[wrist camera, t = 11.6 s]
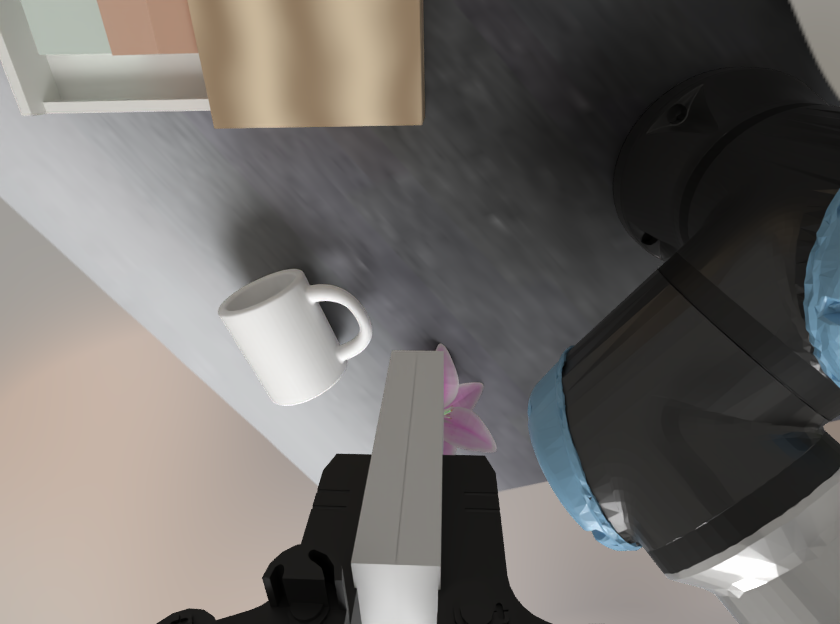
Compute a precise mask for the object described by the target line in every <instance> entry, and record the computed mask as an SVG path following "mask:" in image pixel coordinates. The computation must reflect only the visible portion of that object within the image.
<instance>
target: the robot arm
mask: <svg viewBox="0 0 840 624" xmlns="http://www.w3.org/2000/svg"><path fill="white" fill-rule="evenodd" d="M613 195H614V202H615V207H616V211H617V214H618V216H619V219H620V221H621V223H622V225H623V226H624V228H625V229H626V231H627V232H628V233H629V234H630V236H631V237H632V238H633V239H634V240H635V241H636V242H637V243H638V244H639V245H640V246H641V247H643V248H644V249H645V250H646V251H647V252H649V253H650V254H652V255H653V256H655V257H657V258H659V259H661V260H663V261H665V263H664V264H663V265H662V266H661V267H660V268H659V269H657V270H656V271H655V272H654V273H653V274H652V275H651V276H650V277H648V278H647V279H646V280H645V281H644V282H643V283H642V284H641V285H640V286H639V287H638V288H637V289H635V290H634V291H633V292H632V293H631V294H630V295H629V296H628V297H627V298H626V299H625V300H624V301H623V302H621V303H620V304H619V305H618V306H617V307H616V308H615V309H614V310H613V311H612V312H611V313H610V314H608V315H607V316H606V317H605V318H604V319H603V320H602V321H601V322H600V323H599V324H598V325H597V326H596V327H594V328H593V329H592V330H591V331H590V332H589V333H588V334H587V335H586V336H585V337H584V338H583V339H581V340H580V341H579V342H578V343H577V344H576V345H575V346H572V345H571V346H570V347H569V348H567V349H566V350H565V351H564V352H563V354H562V355H561V358H560V360H559V361H558V362H557V363H556V364H555V365H554V367H553V368H552V369H551V370H550V371H549V372H548V373H547V374H546V375H545V376H544V377H543V378H542V379H541V380H540V381H539V382H538V383H537V384H536V386H535V387H534V389H533V391H532V393H531V395H530V398H529V402H528V417H529V421H528V429H529V434H530V438H531V442H532V445H533V449H534V451H535V454H536V457H537V460H538V462H539V464H540V467H541V469H542V471H543V473H544V475H545V477H546V479H547V480H548V482H549V484H550V486H551V488H552V489H553V491H554V493H555V494H556V496H557V497H558V499H559V500H560V502H561V503H562V505H563V506H564V507H565V509H566V510H567V511H568V512H569V514H570V515H571V516H572V517H573V519H574V520H575V521H576V522H577V523H578V524H579V525H580V526H581V527H582V528H583V529H584V530H586V531H592V533H593V535H594V537H595V539H596V540H597V541H598V542H600V543H601V544H603V545H605V546H606V547H608V548H611V549H613V550H617V551H627V550H638V549H640V548H641V547H643V548H644V549H645V550H646V551H647V553H648V554H649V555H650V556H651V558H652V559H653V560H654V562H655V563H656V564H657V565H658V567H659V568H660V569H661V571H662V572H663V573H664V574H665V576H666V577H667V578H668V579H670V580H674V581H678V582H681V583H685V584H689V585H693V586H696V587H700V588H704V589H706V590H708V591H710V592H712V593H713V594H715V595H716V596H717V597H718V599H719V600H720V601H721V602H722V603H723V605H724V606H725V607H726V608H727V610H728V611H729V612H730V613H731V615H732V616H733V617H734V618H735V619H736V621H737V622H738V623H739V624H840V444H839V443H838V442H837V441H836V440H835V439H833V438H832V437H831V436H830V435H829V434H828V433H827V432H826V431H825V430H824V428H823V426H824V425H825V424H827V423H828V422H829V421H832V420H833V419H834V418H836V417H837V416H839V415H840V106H831V105H828V104H827V103H826V102H825V101H823V100H822V99H821V98H820V97H819V96H818V95H817V94H815V93H814V92H813V91H812V90H811V89H810V88H809V87H808V86H807V85H805V84H804V83H803V82H801V81H800V80H798V79H796V78H794V77H792V76H790V75H787V74H785V73H782V72H779V71H776V70H771V69H766V68H753V67H729V68H722V69H717V70H712V71H709V72H705V73H702V74H700V75H697V76H695V77H692V78H690V79H688V80H686V81H684V82H682V83H680V84H679V85H677V86H676V87H674V88H672V89H671V90H670V91H668V92H667V93H665V94H664V95H663V96H662V97H660V98H659V99H658V100H657V101H656V102H655V103H653V104H652V105H651V106H650V107H649V108H648V109H647V110H646V112H645V113H644V114H643V115H642V116H641V117H640V119H639V120H638V121H637V123H636V124H635V125H634V127H633V128H632V130H631V131H630V133H629V135H628V137H627V138H626V140H625V142H624V144H623V147H622V149H621V151H620V154H619V157H618V160H617V164H616V168H615V173H614V181H613ZM443 441H444V351H392V352H391V357H390V362H389V368H388V373H387V378H386V383H385V388H384V394H383V399H382V404H381V409H380V414H379V420H378V425H377V430H376V435H375V441H374V446H373V451H372V455H369V454H336V455H335V457H334V458H333V459H332V460H331V461H330V463H329V464H328V465H327V466H326V467H325V469H324V470H323V473H322V476H321V479H320V483H319V486H318V491H317V493H316V496H315V499H314V503H313V509H311V512H310V516H309V519H308V522H307V526H306V529H305V532H304V536H303V539H302V542H301V544H300V545H296V546H293V547H291V548H289V549H287V550H285V551H284V552H282V553H281V554H280V555H279V556H278V557H276V558H275V559H274V561H272V562H271V563H270V564H269V566H268V568H267V570H266V572H265V573H264V575H263V577H262V579H263V583H264V586H265V590H266V593H267V596H268V600H269V601H267V602H266V603H264V604H263V605H262V606H259V607H257V608H254V609H252V610H249V611H246V612H242V613H239V614H236V615H233V616H229V617H226V618H222V619H219V620H215V618H214V617H213V616H212V615H211V614H209V613H208V612H206V611H205V610H201V609H186V610H182V611H179V612H176V613H173V614H171V615H169V616H168V617H166V618H165V619H163V620H161V621H160V622H158V623H157V624H552V623H549V622H546V621H544V620H542V619H540V618H538V617H536V616H535V615H533V614H531V613H530V612H529V611H528V610H527V609H526V608H524V607H523V606H522V604H521V603H520V602H519V601H518V599H517V598H516V597H515V595H514V593H513V591H512V589H511V587H510V584H509V581H508V576H507V569H506V560H505V551H504V542H503V534H502V525H501V516H500V507H499V498H498V489H497V481H496V473H495V471H494V470H493V468H492V466H491V465H490V463H489V462H488V460H487V458H486V457H485V456H474V455H443Z"/></svg>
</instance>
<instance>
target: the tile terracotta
mask: <svg viewBox="0 0 840 624" xmlns="http://www.w3.org/2000/svg"><path fill="white" fill-rule="evenodd" d="M97 3H98V7H99V10H100V14H101V17H102V21H103V24H104V28H105V31H106V35H107V38H108V42H109V45H110V48H111V52H112V55H113V56H115V55H164V54H192V53H198V48H197V44H196V39H195V34H194V29H193V25H192V20H191V15H190V11H189V6H188V1H187V0H97Z"/></svg>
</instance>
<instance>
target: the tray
mask: <svg viewBox="0 0 840 624" xmlns="http://www.w3.org/2000/svg"><path fill="white" fill-rule="evenodd" d="M0 60H1V63H2V65H3V68H4V71H5V73H6V76H7V78H8V81H9V84H10V86H11V89H12V91H13V94H14V97H15V99H16V102H17V104H18V107H19V110H20V112H21V115H22V116H34V115H41V114H56V113H107V112H158V111H208V110H210V105H209V100H208V96H207V91H206V86H205V81H204V77H203V72H202V67H201V63H200V58H199V53H192V54H164V55H115V56H113V55H112V54H83V55H39V53H38V50H37V47H36V44H35V41H34V38H33V36H32V33H31V30H30V27H29V24H28V21H27V18H26V15H25V13H24V10H23V7H22V4H21V1H20V0H0Z"/></svg>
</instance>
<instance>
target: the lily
mask: <svg viewBox="0 0 840 624" xmlns="http://www.w3.org/2000/svg"><path fill="white" fill-rule="evenodd" d="M436 351H444V441H443V455H456V447H457V448H460V449H464V450H470V451H477V452H487V453H491V452H495V451H496V450H497V446H496V444H495V441H494V439H493V437H492V435H491V434H490V432H489V430H488V429H487V427H486V426H485V424H484V423H483V422H482V420H481V419H480V418H479V416H477V415H476V414H475V413H474V412H473V411H472V410H473V408H474V407H475V405H476V404H477V402H478V400H479V398H480V396H481V394H482V391H483V388H484V385H483V384H482V383H479V382H473V383H464V384H459V380H458V375H457V372H456V368H455V366H454V363H453V361H452V358H451V356H450V354H449V352H448V350H447V349H446V347H445V346H444V345H442V344H441V343H440V344H438V346H437V348H436Z"/></svg>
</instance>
